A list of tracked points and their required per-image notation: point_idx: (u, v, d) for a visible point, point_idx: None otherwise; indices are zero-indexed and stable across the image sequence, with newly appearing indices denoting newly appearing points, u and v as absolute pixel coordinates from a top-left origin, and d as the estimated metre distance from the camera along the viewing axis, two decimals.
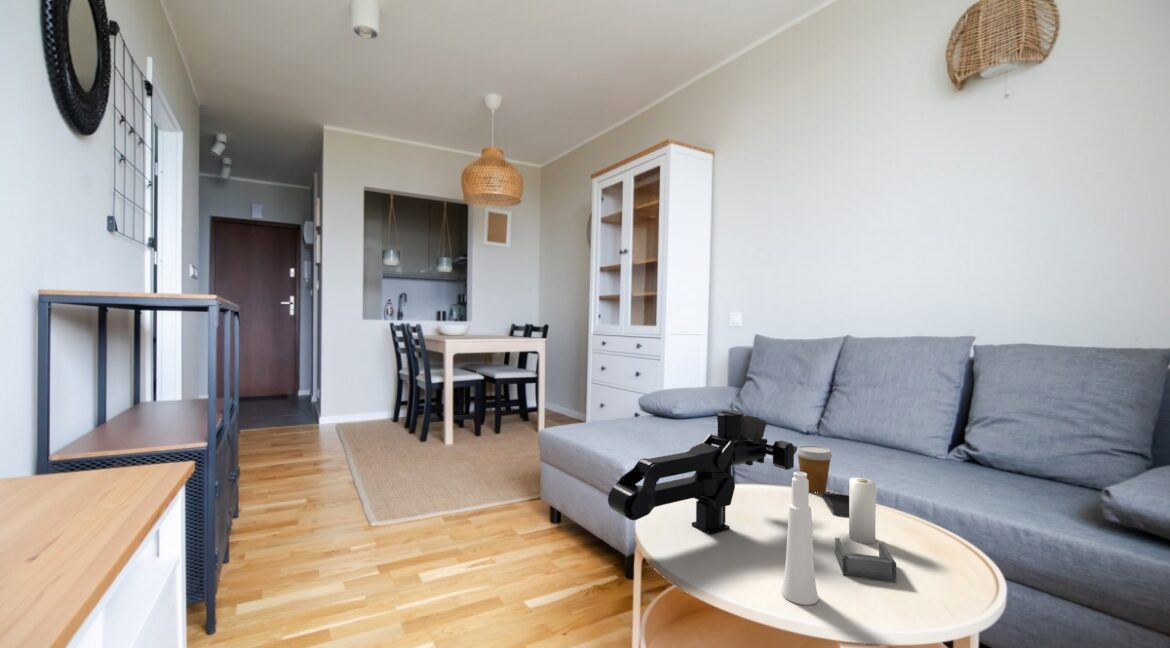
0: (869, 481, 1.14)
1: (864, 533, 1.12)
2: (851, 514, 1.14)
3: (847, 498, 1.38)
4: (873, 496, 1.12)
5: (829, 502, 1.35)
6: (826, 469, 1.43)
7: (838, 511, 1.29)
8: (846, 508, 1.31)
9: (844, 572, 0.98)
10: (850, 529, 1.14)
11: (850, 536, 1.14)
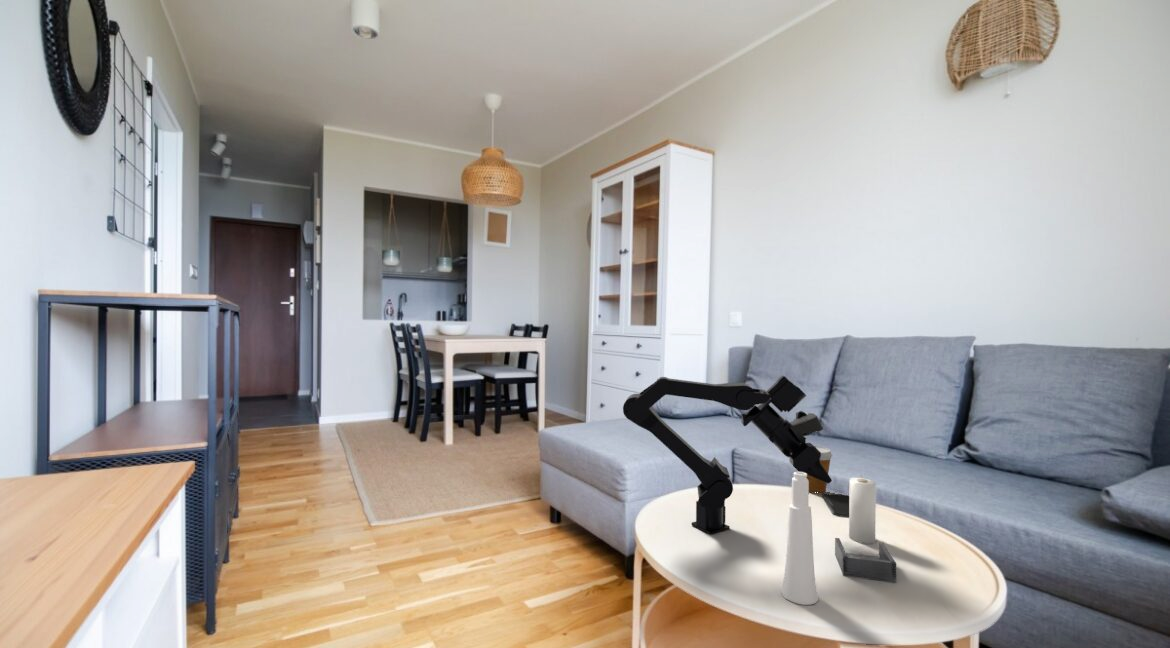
0: (869, 481, 1.14)
1: (864, 533, 1.12)
2: (851, 514, 1.14)
3: (847, 498, 1.38)
4: (873, 496, 1.12)
5: (829, 502, 1.35)
6: (826, 469, 1.43)
7: (838, 511, 1.29)
8: (846, 508, 1.31)
9: (844, 572, 0.98)
10: (850, 529, 1.14)
11: (850, 536, 1.14)
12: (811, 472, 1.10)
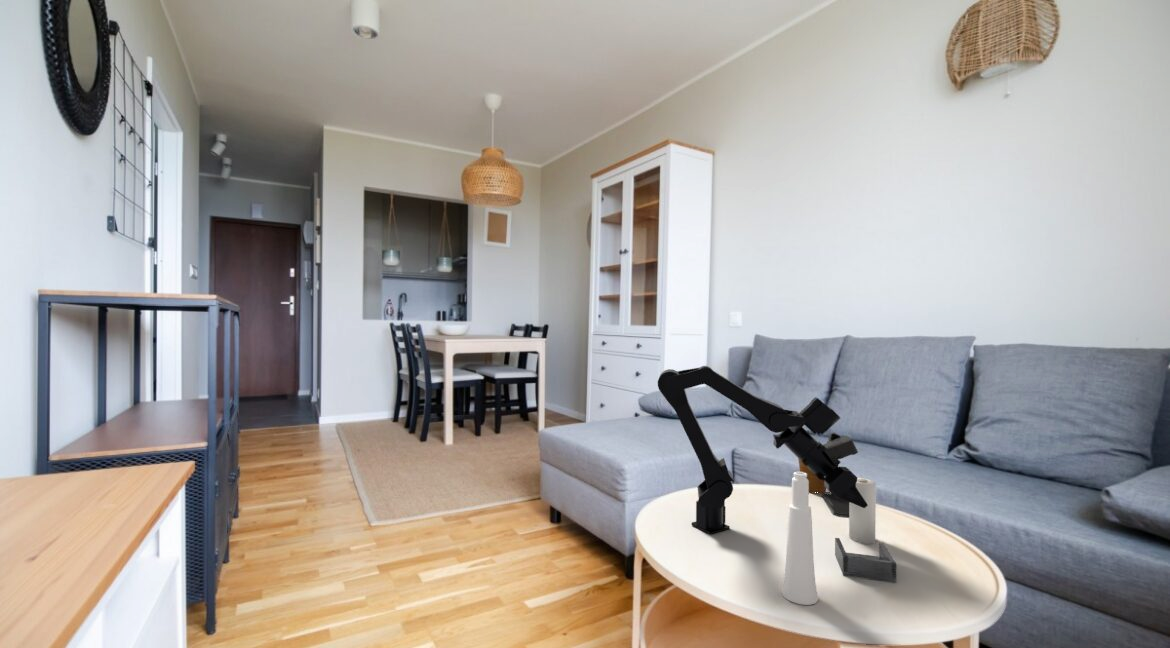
0: (869, 481, 1.14)
1: (864, 533, 1.12)
2: (851, 514, 1.14)
3: None
4: (873, 496, 1.12)
5: (829, 502, 1.35)
6: None
7: (838, 511, 1.29)
8: (846, 508, 1.31)
9: (844, 572, 0.98)
10: (850, 529, 1.14)
11: (850, 536, 1.14)
12: (847, 497, 1.09)
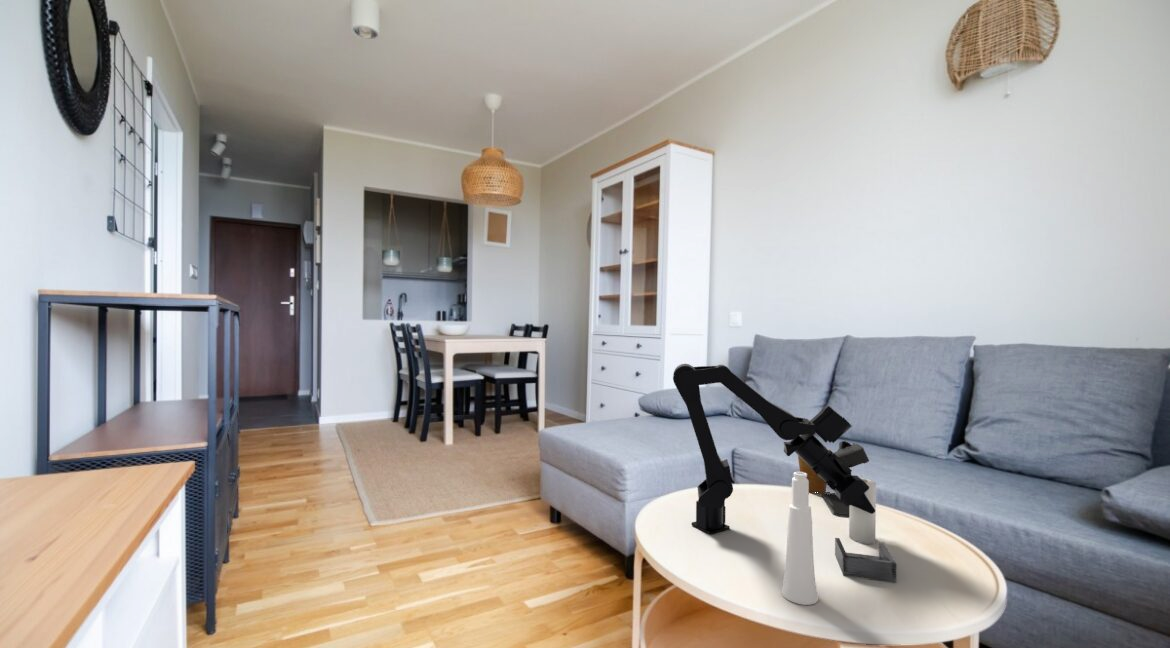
0: (869, 481, 1.14)
1: (864, 533, 1.12)
2: (851, 514, 1.14)
3: None
4: (873, 496, 1.12)
5: (829, 502, 1.35)
6: None
7: (838, 511, 1.29)
8: (846, 508, 1.31)
9: (844, 572, 0.98)
10: (850, 529, 1.14)
11: (850, 536, 1.14)
12: (855, 502, 1.10)
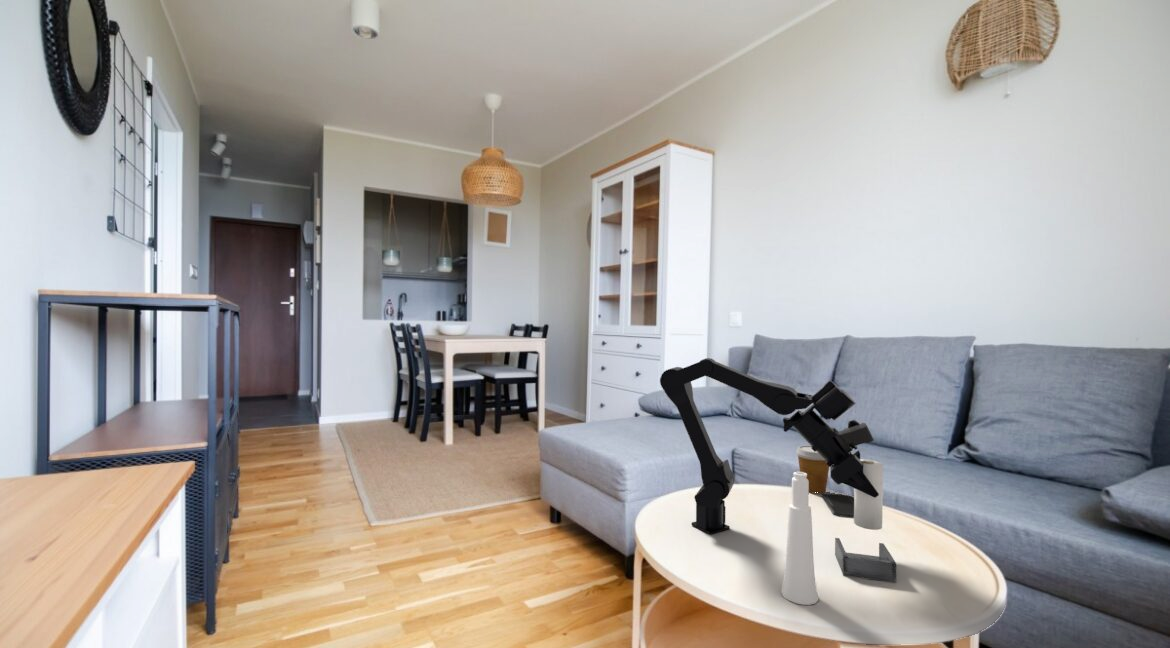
0: (876, 463, 1.06)
1: (866, 518, 1.04)
2: (855, 497, 1.07)
3: (847, 498, 1.38)
4: (878, 479, 1.04)
5: (829, 502, 1.35)
6: (826, 469, 1.43)
7: (838, 511, 1.29)
8: (846, 508, 1.31)
9: (844, 572, 0.98)
10: (854, 513, 1.07)
11: (854, 520, 1.07)
12: (853, 483, 1.03)
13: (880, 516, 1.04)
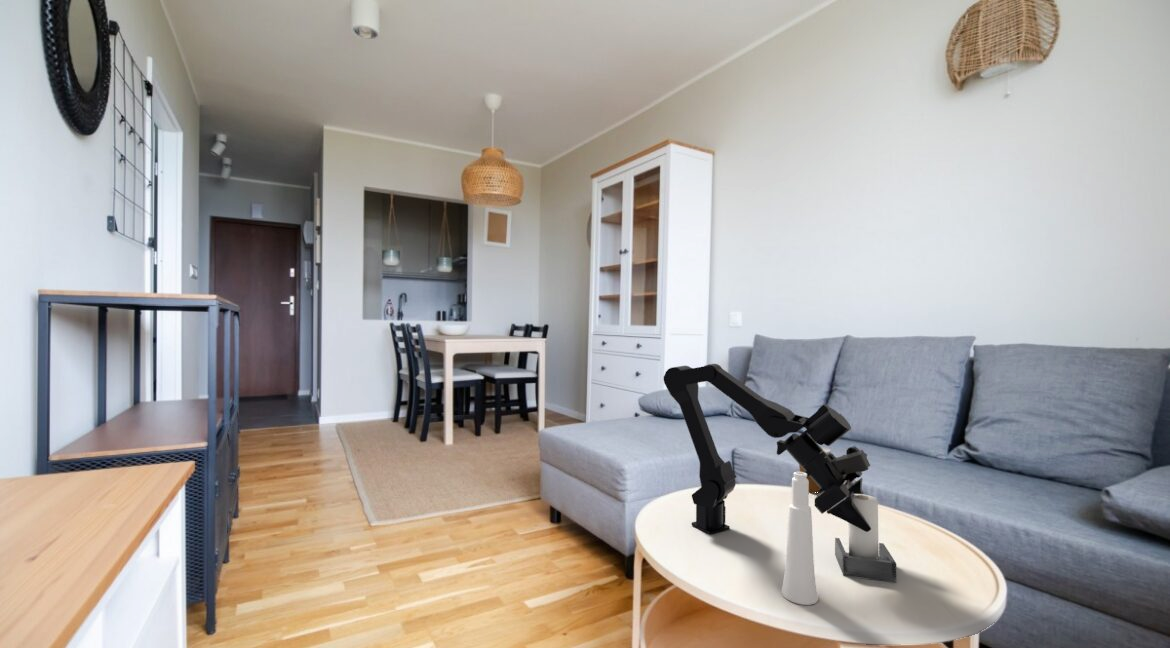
0: (871, 499, 1.00)
1: (859, 556, 0.99)
2: None
3: None
4: (870, 516, 0.98)
5: None
6: None
7: None
8: None
9: (844, 572, 0.98)
10: None
11: None
12: (843, 515, 0.98)
13: (874, 556, 0.98)
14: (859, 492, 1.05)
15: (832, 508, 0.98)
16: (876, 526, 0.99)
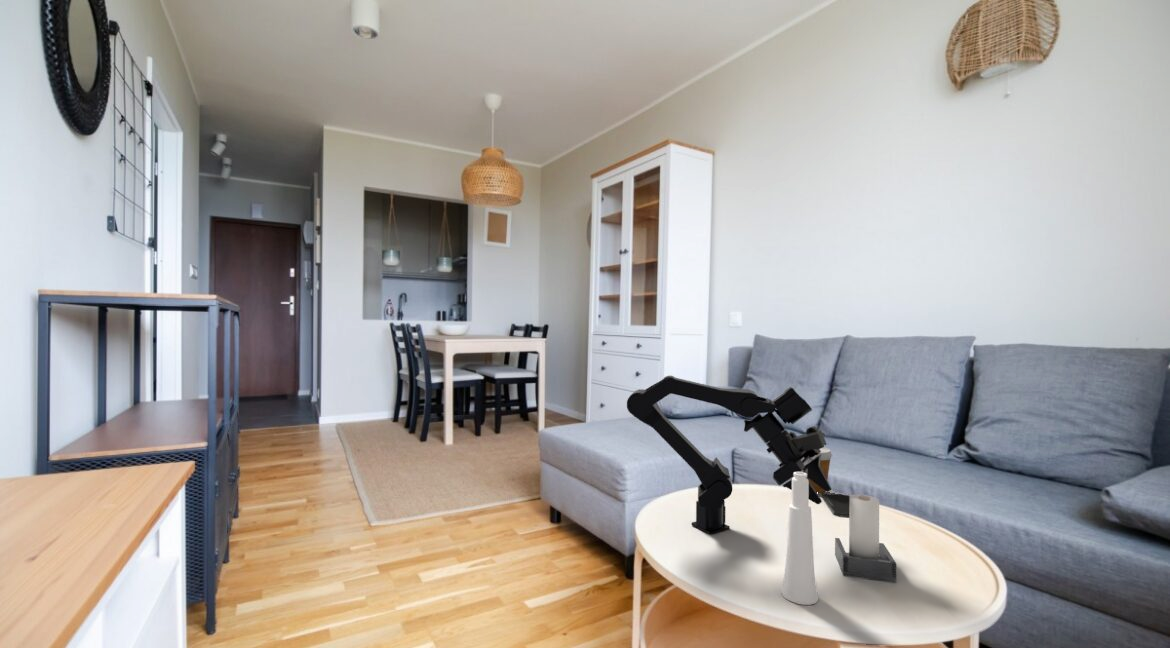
0: (872, 500, 1.00)
1: None
2: (849, 533, 1.02)
3: (847, 498, 1.38)
4: (871, 517, 0.98)
5: (829, 502, 1.35)
6: (826, 469, 1.43)
7: (838, 511, 1.29)
8: (846, 508, 1.31)
9: (844, 572, 0.98)
10: (849, 550, 1.02)
11: None
12: None
13: (874, 556, 0.98)
14: (817, 467, 1.15)
15: (787, 482, 1.07)
16: (877, 527, 0.98)
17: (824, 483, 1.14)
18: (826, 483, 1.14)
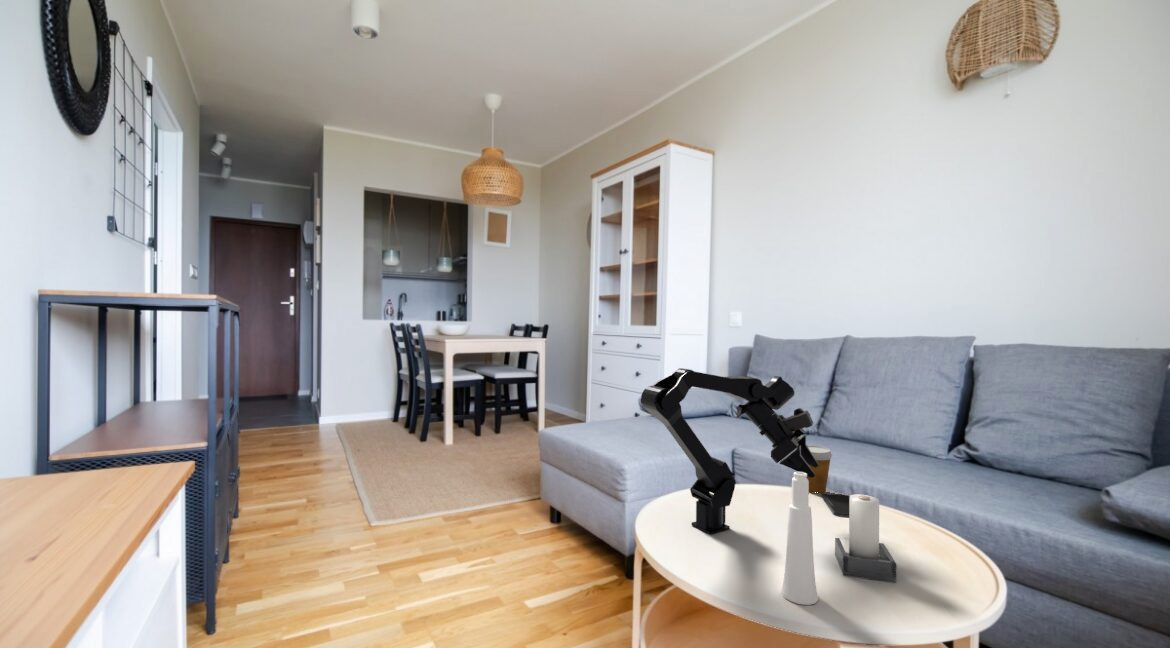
0: (872, 500, 1.00)
1: None
2: (849, 533, 1.02)
3: (847, 498, 1.38)
4: (871, 517, 0.98)
5: (829, 502, 1.35)
6: (826, 469, 1.43)
7: (838, 511, 1.29)
8: (846, 508, 1.31)
9: (844, 572, 0.98)
10: (849, 550, 1.02)
11: None
12: (792, 465, 1.16)
13: (874, 556, 0.98)
14: (804, 445, 1.25)
15: (784, 459, 1.15)
16: (877, 527, 0.98)
17: (812, 460, 1.24)
18: (814, 460, 1.24)
